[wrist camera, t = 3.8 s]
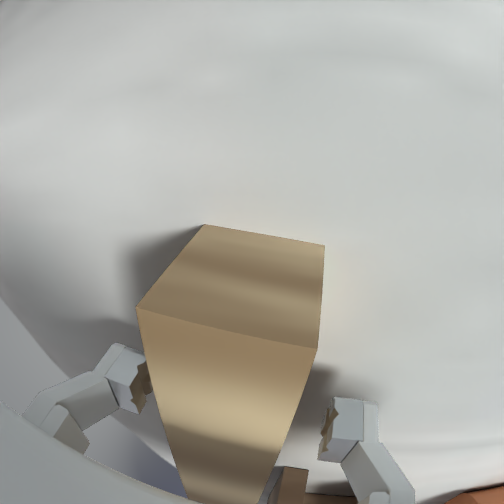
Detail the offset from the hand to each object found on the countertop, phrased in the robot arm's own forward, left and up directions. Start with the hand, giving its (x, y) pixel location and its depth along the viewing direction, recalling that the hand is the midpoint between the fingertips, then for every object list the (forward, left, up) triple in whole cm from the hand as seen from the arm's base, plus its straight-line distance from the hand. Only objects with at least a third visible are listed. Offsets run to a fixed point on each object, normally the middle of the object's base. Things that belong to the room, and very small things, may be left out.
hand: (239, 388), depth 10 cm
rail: (+2, 0, -2) cm, 3 cm away
